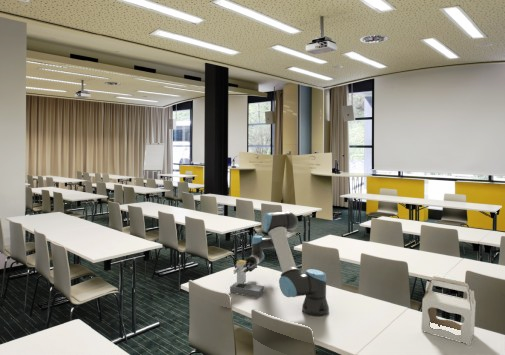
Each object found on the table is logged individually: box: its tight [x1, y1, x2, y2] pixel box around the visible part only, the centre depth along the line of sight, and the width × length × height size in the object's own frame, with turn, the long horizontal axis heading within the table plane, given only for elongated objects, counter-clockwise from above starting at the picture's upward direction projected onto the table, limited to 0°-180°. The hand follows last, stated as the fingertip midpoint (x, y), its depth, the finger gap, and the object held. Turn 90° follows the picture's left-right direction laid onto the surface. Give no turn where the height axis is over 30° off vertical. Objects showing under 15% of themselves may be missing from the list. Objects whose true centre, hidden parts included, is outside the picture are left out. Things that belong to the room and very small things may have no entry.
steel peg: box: [236, 259, 247, 284], centre depth 244 cm, size 4×4×14 cm
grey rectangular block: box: [229, 281, 265, 298], centre depth 243 cm, size 20×9×4 cm, turn 68°
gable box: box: [420, 276, 477, 345], centre depth 190 cm, size 22×13×28 cm, turn 52°
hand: (237, 272), depth 239 cm, fingers closed on steel peg, 4 cm apart
